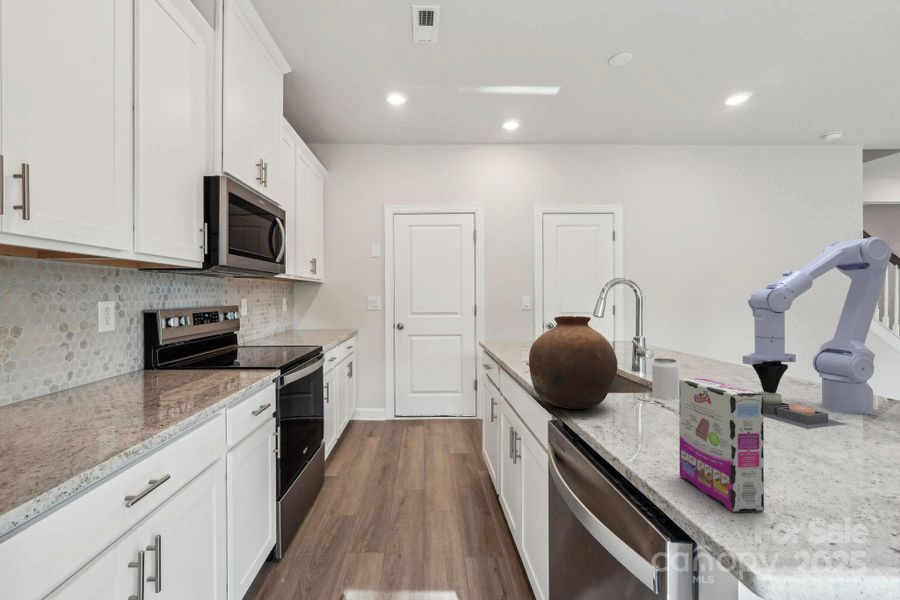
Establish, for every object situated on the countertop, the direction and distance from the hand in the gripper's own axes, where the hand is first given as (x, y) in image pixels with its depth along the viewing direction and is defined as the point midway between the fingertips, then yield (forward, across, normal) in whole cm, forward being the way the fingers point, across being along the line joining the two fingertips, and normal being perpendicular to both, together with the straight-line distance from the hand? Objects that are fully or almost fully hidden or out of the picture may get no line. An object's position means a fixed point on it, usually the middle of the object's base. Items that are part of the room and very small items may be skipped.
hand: (769, 392), depth 94 cm
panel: (+6, 0, 0) cm, 6 cm away
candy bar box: (+6, +46, +26) cm, 53 cm away
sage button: (+3, 0, 0) cm, 3 cm away
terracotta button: (+4, 0, +7) cm, 8 cm away
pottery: (+6, +42, -21) cm, 47 cm away
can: (+6, +14, -18) cm, 24 cm away
